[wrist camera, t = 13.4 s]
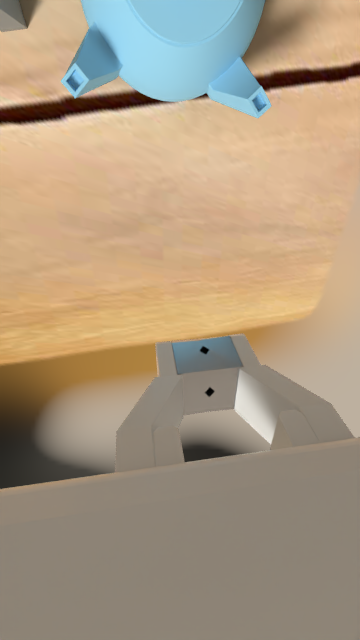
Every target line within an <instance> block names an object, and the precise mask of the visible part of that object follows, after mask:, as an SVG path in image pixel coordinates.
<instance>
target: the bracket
mask: <svg viewBox="0 0 360 640" xmlns="http://www.w3.org/2000/svg"><path fill="white" fill-rule="evenodd" d="M20 29H27V26H26V23H25V20H24V16H23V13H22V10H21V6H20V3H19V0H0V31H2V32H5V31H12V30H20Z"/></svg>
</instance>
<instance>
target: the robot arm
mask: <svg viewBox="0 0 360 640" xmlns="http://www.w3.org/2000/svg"><path fill="white" fill-rule="evenodd" d="M156 357H157V369H158V377H155V378H154V379H153V381H152V382H151V384H150V385H149V386H148V388H147V389H146V391H145V392H144V394H143V395H142V396H141V398H140V399H139V401H138V402H137V404H136V405H135V406H134V408H133V409H132V411H131V412H130V414H129V415H128V416H127V418H126V419H125V420H124V422H123V423H122V425H121V426H120V427H119V429H118V430H117V436H116V437H117V438H116V460H115V473H109V474H103V475H96V476H89V477H82V478H75V479H68V480H61V481H54V482H47V483H41V484H34V485H27V486H20V487H13V488H6V489H0V640H360V437H358V438H355V437H354V436H353V435H352V433H351V432H350V431H349V429H348V427H347V426H346V424H345V423H344V422H343V420H342V419H341V417H340V416H339V414H338V413H337V411H336V410H335V409H334V407H333V406H332V404H331V403H329V402H327V401H326V400H324V399H322V398H320V397H319V396H317V395H315V394H314V393H312V392H310V391H309V390H307V389H305V388H304V387H302V386H300V385H298V384H297V383H295V382H293V381H291V380H290V379H288V378H287V377H285V376H283V375H282V374H280V373H278V372H277V371H274V370H273V369H271V368H270V367H268V366H266V365H261V364H260V362H259V361H258V359H257V357H256V355H255V353H254V351H253V350H252V348H251V346H250V344H249V342H248V340H247V338H246V336H245V335H244V334H236V335H228V336H222V337H212V338H203V339H190V340H177V341H171V342H170V341H167V342H156ZM228 409H234V410H235V411H236V412H237V413H238V414H239V415H240V416H241V417H242V418H243V419H244V420H245V421H246V422H247V423H248V424H250V425H251V426H252V427H253V428H254V429H255V430H256V431H257V432H258V433H259V434H260V435H261V436H262V437H263V438H265V439H266V440H267V441H268V442H269V443H270V444H271V447H270V450H269V451H262V452H255V453H248V454H241V455H234V456H227V457H220V458H213V459H206V460H199V461H193V462H186V463H185V462H184V457H183V451H182V445H181V439H180V433H179V429H178V428H179V426H180V423H181V421H182V419H183V415H189V414H195V413H202V412H207V411H218V410H228Z"/></svg>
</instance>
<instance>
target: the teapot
mask: <svg viewBox="0 0 360 640" xmlns="http://www.w3.org/2000/svg"><path fill="white" fill-rule="evenodd" d="M81 3H82V7H83V11H84V14H85V17H86V20H87V23H88V25H89V29H88V32H87V34H86V36H85V38H84V39H83V41H82V43H81V45H80V47H79V49H78V51H77V53H76V55H75V57H74V59H73V61H72V63H71V65H70V66H69V68H68V70H67V72H66V74H65V76H64V77H63V79H62V80H61V82H62V83H63V85H64V86H65V87H66V88H67V89H68V90H69V92H70V93H71V94H72V95H73V96H74V97H75V98H77V97H79V96H81V95H83V94H85V93H87V92H89V91H91V90H93V89H95V88H97V87H99V86H102V85H104V84H106V83H108V82H110V81H112V80H114V79H116V78H117V77H118V76H120V77H121V78H122V79H123V80H124V81H125V82H126V83H128V84H129V85H130V86H131V87H132V88H134V89H136V90H137V91H139V92H140V93H142V94H144V95H146V96H149V97H151V98H154V99H158V100H161V101H170V102H177V101H185V100H190V99H193V98H196V97H198V96H201V95H203V94H205V93H207V94H208V96H209V97H210V99H211V100H214V101H216V102H219V103H221V104H224V105H226V106H228V107H231V108H233V109H236V110H238V111H241V112H243V113H246V114H248V115H251V116H253V117H256V118H259V117H260V116H261V115H262V114H263V113H264V112H265V111H267V110H268V109H269V108H270V107H271V106H272V105H271V103H270V101H269V99H268V98H267V96H266V94H265V92H264V90H263V88H262V86H260V85H259V83H258V82H257V80H256V79H255V78H254V76H253V75H252V73H251V72H250V70H249V69H248V67H247V66H246V64H245V63H244V62H243V60H242V57H243V55H244V54H245V52H246V51H247V49H248V47H249V45H250V43H251V41H252V39H253V37H254V35H255V32H256V29H257V27H258V24H259V21H260V18H261V15H262V11H263V7H264V3H265V0H81Z"/></svg>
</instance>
